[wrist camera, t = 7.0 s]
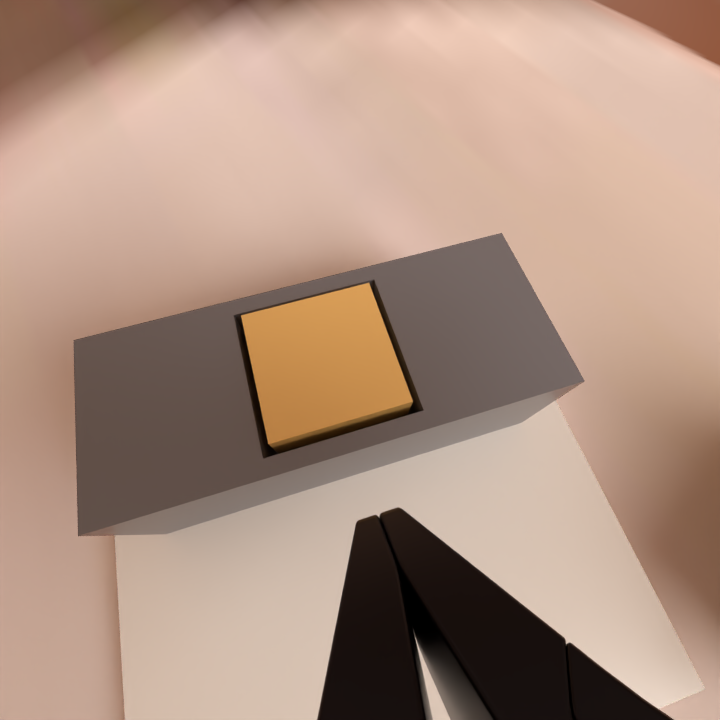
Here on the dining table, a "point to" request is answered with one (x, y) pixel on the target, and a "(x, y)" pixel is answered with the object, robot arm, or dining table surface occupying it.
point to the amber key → (324, 368)
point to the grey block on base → (347, 492)
